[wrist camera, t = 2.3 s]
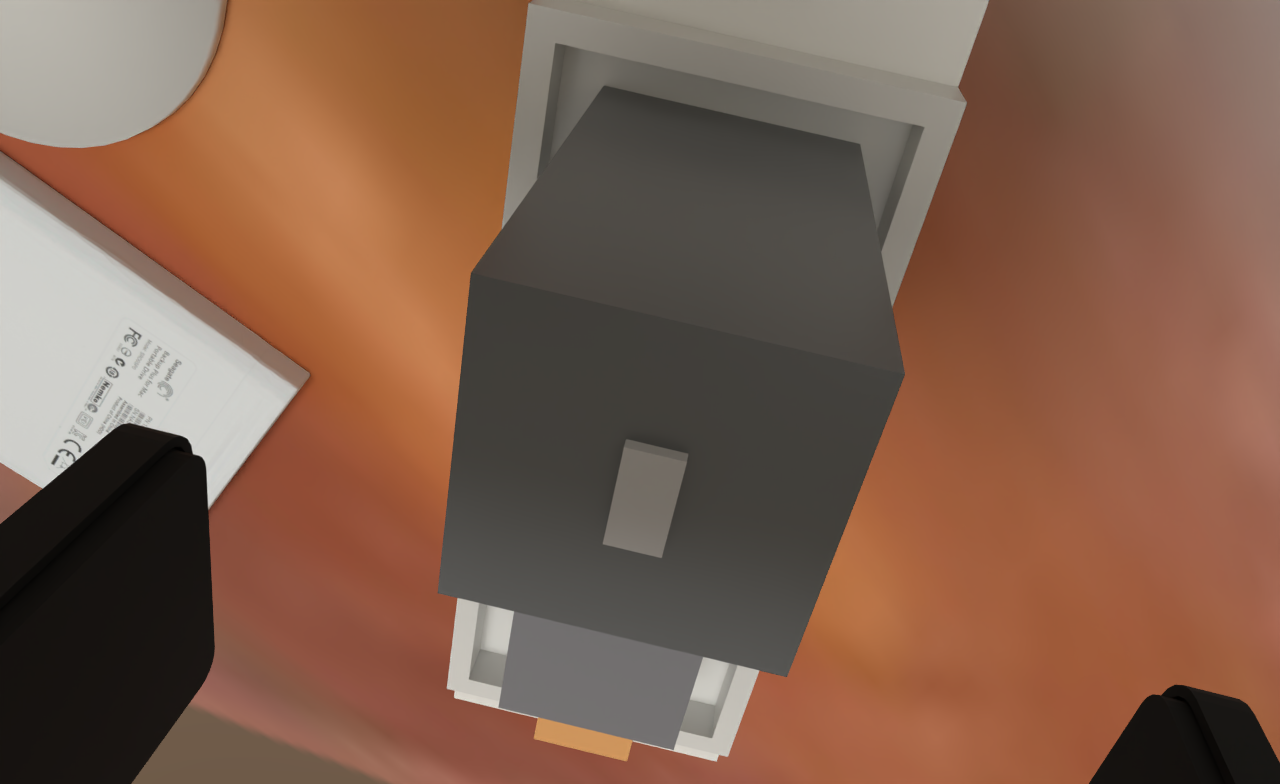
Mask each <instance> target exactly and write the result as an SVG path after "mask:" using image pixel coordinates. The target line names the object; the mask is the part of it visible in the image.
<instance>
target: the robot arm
mask: <svg viewBox="0 0 1280 784" xmlns="http://www.w3.org/2000/svg"><path fill="white" fill-rule="evenodd" d="M214 649H215V644H214V623H213V601H212V580H211V558H210V537H209V516H208V494H207V473H206V464H205V461H204V459H203V458H202V457H201V456H198V455H195V454H193V451H192V446H191V444H190V442H189V440H188V439H187V438H185V437H183V436H180V435H176V434H172V433H168V432H164V431H160V430H156V429H152V428H148V427H144V426H140V425H136V424H132V423H126V424H121V425H120V426H118V427H116V428H115V429H113V430H112V431H111V432H110V433H108V434H107V435H106V436H105V437H104V438H102V439H101V440H100V441H99V442H98V443H97V444H95V445H94V446H93V447H92V448H91V449H89V450H88V451H87V452H86V453H85V454H83V455H82V456H81V457H80V458H79V459H77V460H76V461H75V462H74V463H73V464H71V465H70V466H69V467H68V468H67V469H66V470H64V471H63V472H62V473H61V474H60V475H58V476H57V477H56V478H55V479H54V480H52V481H51V482H50V483H49V484H48V485H46V486H45V487H44V488H43V489H42V490H40V491H39V492H38V493H37V494H36V495H34V496H33V497H32V498H31V499H30V500H29V501H27V502H26V503H25V504H24V505H23V506H21V507H20V508H19V509H18V510H17V511H15V512H14V513H13V514H12V515H11V516H9V517H8V518H7V519H6V520H5V521H3V522H2V523H1V524H0V784H131V783H132V782H133V781H134V779H135V778H136V776H137V775H138V774H139V772H140V771H141V769H142V768H143V767H144V765H145V764H146V762H147V761H148V760H149V758H150V757H151V756H152V754H153V753H154V751H155V750H156V749H157V747H158V746H159V744H160V743H161V741H162V740H163V739H164V738H165V736H166V735H167V733H168V732H169V731H170V729H171V728H172V726H173V725H174V724H175V722H176V721H177V719H178V718H179V717H180V715H181V714H182V713H183V711H184V709H185V708H186V707H187V706H188V704H189V703H190V702H191V700H192V699H193V697H194V696H195V695H196V693H197V692H198V690H199V689H200V688H201V686H202V684H203V683H204V681H205V679H206V677H207V675H208V673H209V671H210V668H211V665H212V662H213V657H214ZM1089 784H1280V763H1279V761H1278V759H1277V757H1276V755H1275V753H1274V751H1273V749H1272V747H1271V745H1270V743H1269V741H1268V739H1267V737H1266V736H1265V734H1264V732H1263V730H1262V728H1261V726H1260V724H1259V722H1258V720H1257V718H1256V716H1255V714H1254V713H1253V711H1252V710H1251V709H1250V707H1249V706H1248V705H1247V704H1246V703H1244V702H1243V701H1241V700H1240V699H1236V698H1232V697H1228V696H1224V695H1220V694H1216V693H1212V692H1208V691H1204V690H1200V689H1196V688H1192V687H1188V686H1184V685H1174V686H1172V687H1170V688H1168V689H1167V690H1166V691H1165V692H1164V693H1163V694H1162V695H1161V696H1160V695H1151V696H1149V697H1147V698H1146V699H1145V700H1144V701H1143V702H1142V704H1141V705H1140V707H1139V708H1138V710H1137V711H1136V713H1135V714H1134V716H1133V717H1132V719H1131V720H1130V722H1129V723H1128V725H1127V727H1126V728H1125V730H1124V731H1123V733H1122V734H1121V736H1120V737H1119V739H1118V740H1117V742H1116V743H1115V745H1114V746H1113V748H1112V749H1111V751H1110V752H1109V754H1108V755H1107V757H1106V758H1105V760H1104V761H1103V763H1102V764H1101V766H1100V767H1099V769H1098V771H1097V772H1096V774H1095V775H1094V777H1093V778H1092V780H1091V781H1090V783H1089Z"/></svg>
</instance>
